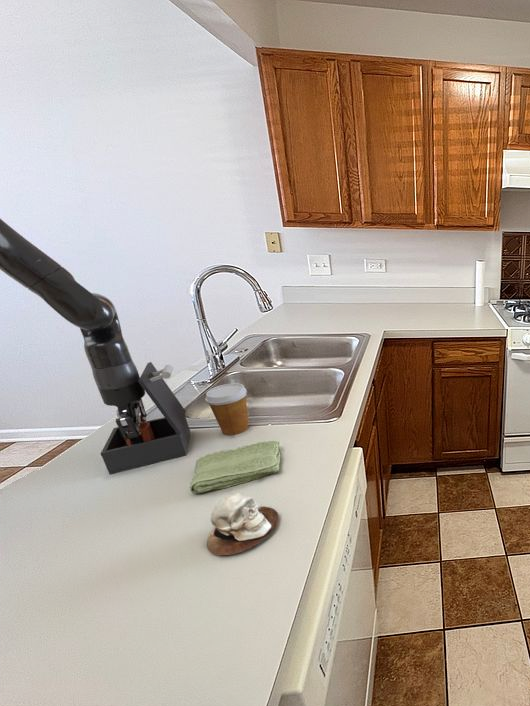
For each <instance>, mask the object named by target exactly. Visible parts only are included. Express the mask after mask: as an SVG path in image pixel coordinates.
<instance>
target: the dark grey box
mask: <svg viewBox="0 0 530 706" xmlns="http://www.w3.org/2000/svg"><path fill="white" fill-rule="evenodd" d="M146 422H149V424H150V426H151V429H152V432H153V434H154V437H155V440H151V441H147V442H142V443H138V444H134V445H129V446H127V443H126V441H125V439H124V437H123V435H122V433H121V431H120V429H119V427H118V426H117V427H113V428H112V430H111V433H110V434H109V436H108V438H107V440H106V441H105V444H104V446H103V448H102V450H101V451H100V455H101V459H102V460H103V463H104V465H105V467H106V469H107V472H108V474H109V475H113V474H117V473H121V472H126V471H130V470H134V469H137V468H141V467H146V466H149V465H153V464H157V463H160V462H165V461H170V460H173V459H178V458H182V457H186V456H187V453H188V448H189V442H190V437H191V430H190V425H189V423H188V420H187V417H186V415H185V416H184V421H183V425H182V430H181V433H179V434H177V433H176V432H175V430H174V429H173V428H172V426H171V425H170V424H169V422H168V421H167V420H166V418H165V417H164V416H163V417H160V418H155V419H150V420H146Z"/></svg>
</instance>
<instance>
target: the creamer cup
mask: <svg viewBox="0 0 530 706" xmlns="http://www.w3.org/2000/svg"><path fill="white" fill-rule="evenodd" d="M141 423H142V424H141V425H140V431H141V435H142V437H143V440H144V442H147V441H151V440H155V437H154V434H153V432H152V429H151V426H150V424H149V422H141ZM131 432H133V431H130V433H131ZM125 441H126V443H127V446H129V445H132V444H131V442H130V439H127V440H125Z"/></svg>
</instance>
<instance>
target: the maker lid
mask: <svg viewBox="0 0 530 706" xmlns="http://www.w3.org/2000/svg"><path fill="white" fill-rule="evenodd" d="M173 372H174V366H173V365H171V364H166V365H164V367H163V368H162V369H159V370H157V368H156V366H155V365H154V364H153V362H152V361H149V362H147V363H146V365H145V367H144V369H143V371H142V373H141V375H140V379H139V381H138V382H139V383H140V385H141V386H142V387H143V389H144V390H145V394H147V395H148V397H149V399H150V400H151V401H152V403H154V406H156V407H157V409H158V410H159V412H160V413H161V414H162V416H163V418H164V417H165V418H166V420H167V421H168V422H169V424H170V425H171V426H172V428H173V429H174V430H175V432H176V433H177V434H179V433H181V430H182V425H183V421H184V416H186V409H185V408H184V406H183V405H182V403H180V401H179V399H178V398H177V397H176V395H175V394H174V392H173V391H172V390H171V388H170V387H169V385H168V384H167V382H166V381H165V380H167V379H170V378H171V377H172V374H173ZM164 379H165V380H164Z"/></svg>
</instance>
